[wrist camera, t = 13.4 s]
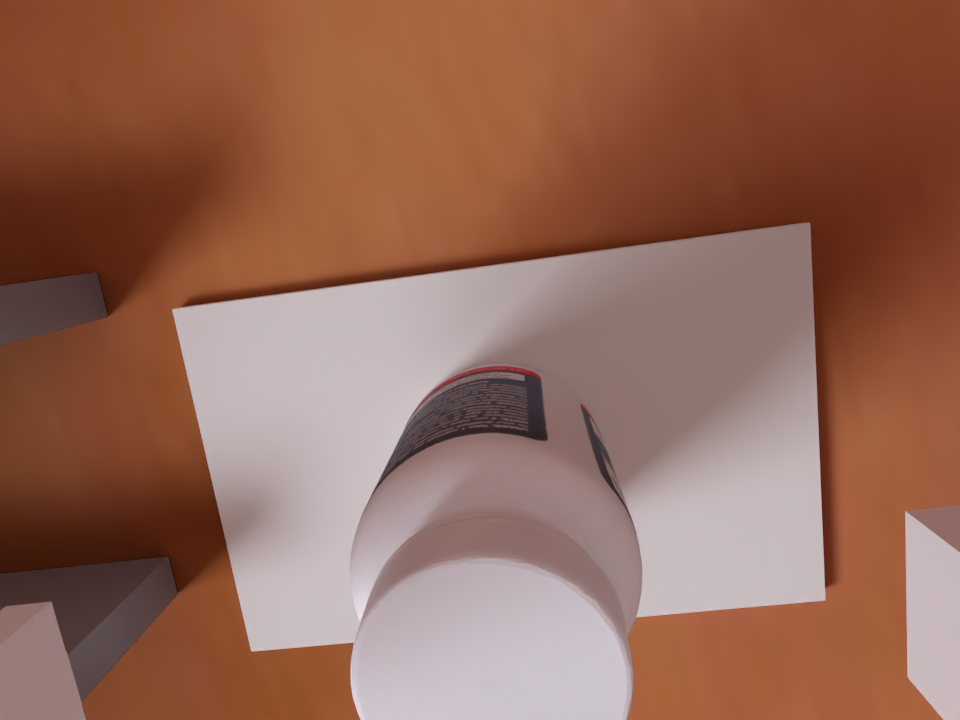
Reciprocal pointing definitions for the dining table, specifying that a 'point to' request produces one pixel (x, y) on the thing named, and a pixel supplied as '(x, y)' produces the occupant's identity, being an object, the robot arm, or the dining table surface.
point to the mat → (557, 353)
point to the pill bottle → (496, 561)
